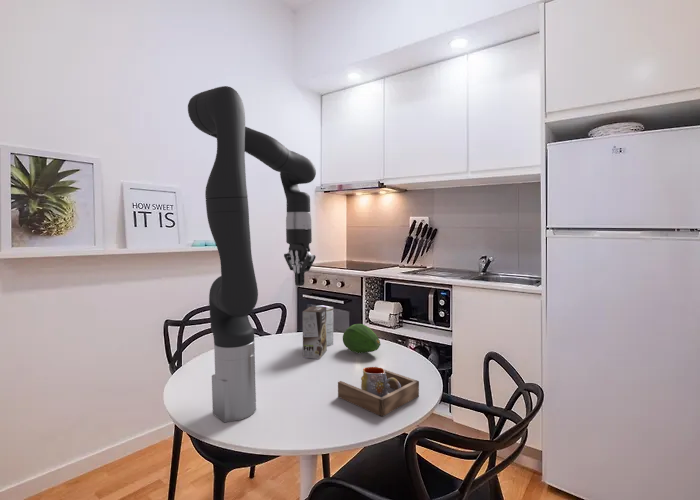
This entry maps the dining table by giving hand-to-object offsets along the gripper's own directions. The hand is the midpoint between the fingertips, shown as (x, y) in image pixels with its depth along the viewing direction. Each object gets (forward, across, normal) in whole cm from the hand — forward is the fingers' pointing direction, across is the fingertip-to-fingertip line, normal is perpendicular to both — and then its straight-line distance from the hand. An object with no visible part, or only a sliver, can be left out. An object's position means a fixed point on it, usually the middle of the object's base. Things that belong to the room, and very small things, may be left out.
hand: (299, 285), depth 114 cm
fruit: (+27, +1, +26) cm, 38 cm away
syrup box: (+27, -16, +23) cm, 39 cm away
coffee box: (+27, -10, +14) cm, 32 cm away
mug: (+27, +28, +4) cm, 39 cm away
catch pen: (+27, +28, +4) cm, 39 cm away
